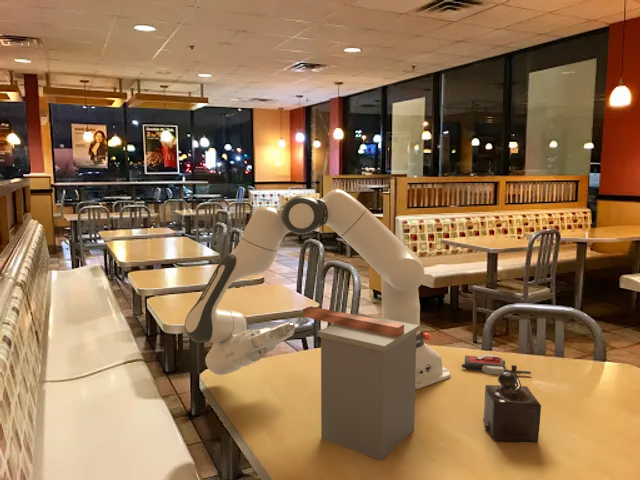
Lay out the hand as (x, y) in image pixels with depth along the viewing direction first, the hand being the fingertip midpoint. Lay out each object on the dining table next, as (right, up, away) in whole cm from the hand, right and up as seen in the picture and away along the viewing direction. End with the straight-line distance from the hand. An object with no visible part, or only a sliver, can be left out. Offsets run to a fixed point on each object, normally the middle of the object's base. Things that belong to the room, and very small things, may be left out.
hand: (281, 330), depth 136 cm
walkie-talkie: (+64, -17, +27) cm, 72 cm away
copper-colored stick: (+17, +4, -13) cm, 22 cm away
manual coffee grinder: (+55, -23, -13) cm, 61 cm away
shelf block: (+21, -22, -12) cm, 33 cm away
